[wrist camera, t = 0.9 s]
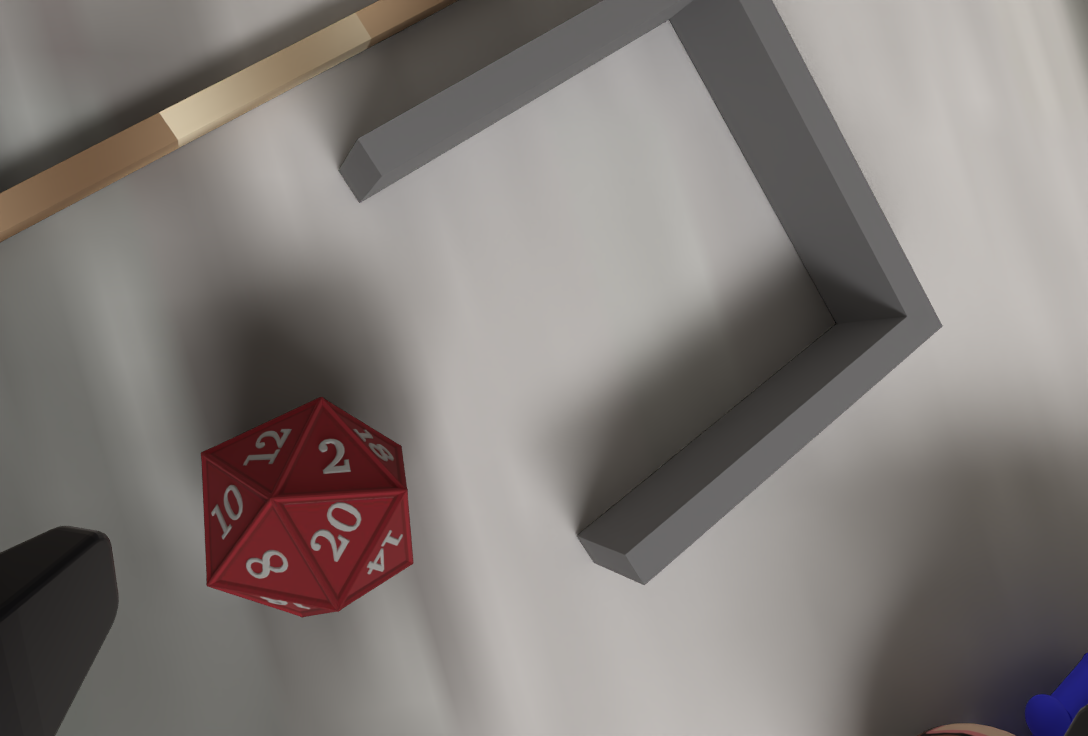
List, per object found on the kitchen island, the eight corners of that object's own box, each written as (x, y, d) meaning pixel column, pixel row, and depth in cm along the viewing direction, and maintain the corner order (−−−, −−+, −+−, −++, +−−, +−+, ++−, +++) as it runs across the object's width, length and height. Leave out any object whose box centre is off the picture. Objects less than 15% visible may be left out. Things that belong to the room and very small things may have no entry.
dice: (347, 625, 18) (383, 687, 15) (148, 529, 17) (132, 570, 13) (435, 469, 19) (491, 489, 15) (252, 364, 18) (264, 359, 14)
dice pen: (594, 563, 20) (644, 585, 18) (338, 170, 18) (358, 138, 16) (869, 332, 24) (942, 326, 21) (676, -24, 22) (733, -74, 19)
